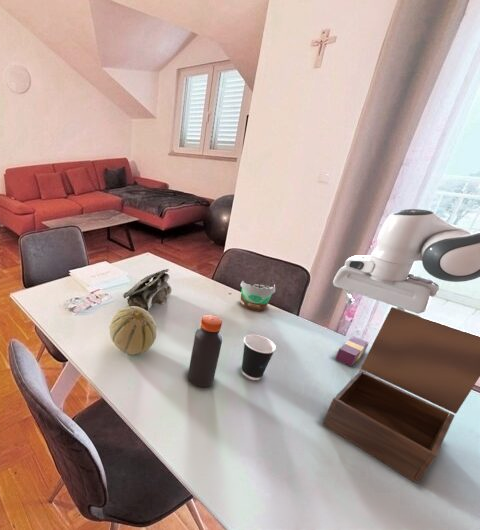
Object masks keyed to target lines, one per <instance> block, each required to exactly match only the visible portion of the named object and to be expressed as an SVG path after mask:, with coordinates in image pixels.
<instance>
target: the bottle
mask: <svg viewBox="0 0 480 530" xmlns="http://www.w3.org/2000/svg"><path fill="white" fill-rule="evenodd" d="M222 325H223V320H222V319H221V317H219V316H217V315H214V314H204V315H203V316H201V321H200V328H199V329H197V330H196V331H195V332H194V338H193V344H192V350H191V354H190V355H191V356H190V362H189V366H188V372H187V378H188V380H189V381H190V383H192V384H193V385H194V386H196V387H198V388H209V387H211V386H212V385H213V384H214V380H215V377H216V371H217V366H218V361H219V358H220V353H221V349H222V344H223V336H222V334H221V333H220V332H221V329H222Z"/></svg>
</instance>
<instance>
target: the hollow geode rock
mask: <svg viewBox="0 0 480 530" xmlns="http://www.w3.org/2000/svg"><path fill="white" fill-rule="evenodd" d="M169 271H170V269H168V268H166V269H162V270H159V271H157V272H155V273H152V274H149V275H146V276H145V277H143V278H142V279H140V281H138V282H137V283H135V284H134V286H133V287H131V288H130V289H129V290H128V291H127V292H124V293H123V295H122V297H123V299H126V300H127V305H128V307H130V306H137V307H140V308H143V309H145V310H146V311H148V312H149V310H150V309H151V308H152V306H153V305H156V304H158V305H160V306H162V305H165V304H166V303H167V300H168V297H169V296H170V295H171V294H172V291H173V288H172V286H171V285H170V284H169V283H168V281H169V280H170V275H169V274H168V272H169Z"/></svg>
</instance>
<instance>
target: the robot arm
mask: <svg viewBox="0 0 480 530" xmlns="http://www.w3.org/2000/svg"><path fill="white" fill-rule="evenodd" d="M418 261H422V262H421V263H422V266H423V269H424V270H425V272H426V273H428V275H430V276H432V277H434V278H435V279H438V280H440V281H444V282H450V283H451V282H453V283H462V282H463V283H464V282H469V281H473V280H476V279H478V278H480V231H478V232H475V233H473V232H471V231H470V230H467V229H465V228H463V227H459V226H456V225H454V224H452V223H449V222H448V221H445V220H443V218H440V217H439V216H438V215H436V214H435V213H434V211H431V210H427V209H419V208H418V209H417V208H416V209H413V208H411V209H400V210H397V211H394V212H393V213H391V214H390V215H389V216H388V217H387V218H386V220H385V221H384V223H383V225H382V226H381V229H380V230H379V233H378V236H377V238H376V245H375V247H374V249H373V250H372V251H371V253H370V255H353V256H351V257H348V258H347V259H346V260H345V262H344V266H341V267H340V268H339V269H338V271H337V272H336V274H335V276H334V278H333V280H332V284H333V286H334V287H336V288H338V289H342V290H344V296H345V298H346V301H345V305H347V306H350V307H352V306H353V305H354V303H355V301H356V299H355V298H353V297H352V293H354V294H357V295H360V296H362V297H363V296H364V297H367V298H368V299H372V300H376V301H379V302H380V303H385V304H388V305H391V306H392V307H395V308H397V309H400V310H403V311H407V312H410V313H413V314H414V313H415V314H418V315H419V314H422V313H425V312H426V311H427V309H428V308H429V305H430V302H431V300H432V298H433V297H435V296H437V294H438V293H439V291H440V285H439V284H438V283H437V282H435V281H434V279H430V278H425V277H422V276H420V275H416V274H411V272H412V271H413V268H414V266H415V264H416V262H418Z"/></svg>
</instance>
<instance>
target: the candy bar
mask: <svg viewBox="0 0 480 530" xmlns="http://www.w3.org/2000/svg"><path fill="white" fill-rule="evenodd" d="M369 343H370V342H368V341H366V340H363V339H361V338H359V337H356V336H351V338H349V340H347V341H346V342H345V343H344V344H342V346H341V347H340V348H339V349H338V351H337V353H336V356H335V360H337V361H338V362H341V363H342V364H345V365H347V366H349V367H352V366H353V365H355V364H356V362H358V360H359V359H360V358H361V357H362V356H363V355H364V354H365V352H366V350H367V349H368V346H369Z"/></svg>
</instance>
